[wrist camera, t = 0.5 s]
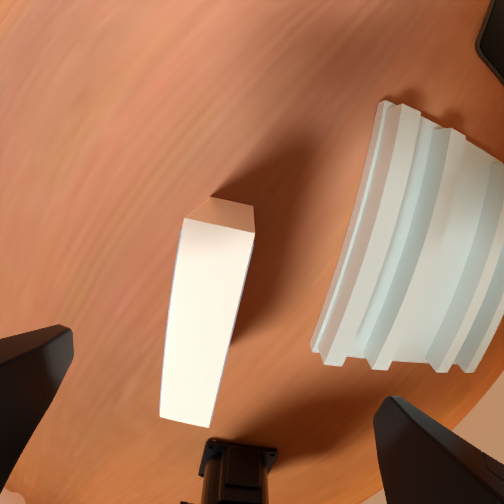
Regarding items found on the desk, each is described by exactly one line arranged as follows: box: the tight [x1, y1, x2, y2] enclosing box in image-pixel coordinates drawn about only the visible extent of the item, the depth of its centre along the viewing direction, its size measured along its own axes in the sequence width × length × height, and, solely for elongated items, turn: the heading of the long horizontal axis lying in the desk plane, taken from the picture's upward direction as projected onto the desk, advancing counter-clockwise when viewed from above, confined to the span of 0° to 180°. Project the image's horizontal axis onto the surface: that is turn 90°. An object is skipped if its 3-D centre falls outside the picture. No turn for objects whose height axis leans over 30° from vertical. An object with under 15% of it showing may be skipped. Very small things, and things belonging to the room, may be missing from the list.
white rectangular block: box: [159, 197, 255, 428], centre depth 15 cm, size 10×3×7 cm, turn 167°
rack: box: [310, 100, 504, 373], centre depth 17 cm, size 16×14×3 cm
